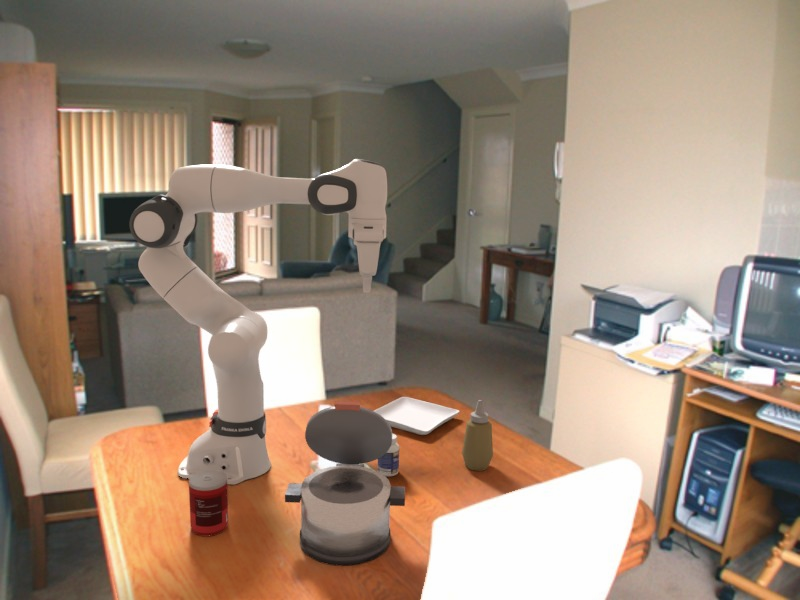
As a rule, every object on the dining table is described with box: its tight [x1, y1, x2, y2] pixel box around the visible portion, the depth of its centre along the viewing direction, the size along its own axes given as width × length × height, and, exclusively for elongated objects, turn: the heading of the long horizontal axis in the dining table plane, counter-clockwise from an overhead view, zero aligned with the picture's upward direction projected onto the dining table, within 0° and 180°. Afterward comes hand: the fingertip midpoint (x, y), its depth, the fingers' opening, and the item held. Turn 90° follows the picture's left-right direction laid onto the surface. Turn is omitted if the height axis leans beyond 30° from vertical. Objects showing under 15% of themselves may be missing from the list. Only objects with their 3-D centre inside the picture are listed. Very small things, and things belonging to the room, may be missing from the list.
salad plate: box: [373, 396, 460, 436], centre depth 199 cm, size 21×21×3 cm
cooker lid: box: [304, 400, 393, 464], centre depth 135 cm, size 18×20×2 cm
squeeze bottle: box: [461, 399, 494, 472], centre depth 168 cm, size 8×8×18 cm
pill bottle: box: [377, 433, 400, 477], centre depth 164 cm, size 5×5×10 cm
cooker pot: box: [284, 463, 406, 567], centre depth 134 cm, size 24×20×12 cm
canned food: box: [188, 471, 229, 537], centre depth 137 cm, size 8×8×11 cm
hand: (366, 288), depth 155 cm, fingers open, 8 cm apart
